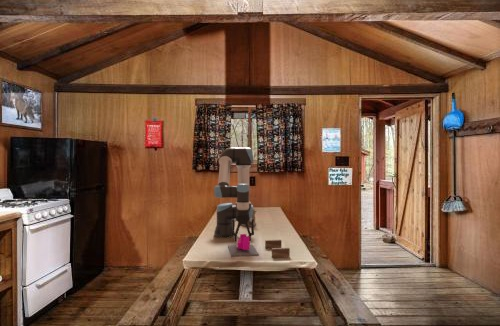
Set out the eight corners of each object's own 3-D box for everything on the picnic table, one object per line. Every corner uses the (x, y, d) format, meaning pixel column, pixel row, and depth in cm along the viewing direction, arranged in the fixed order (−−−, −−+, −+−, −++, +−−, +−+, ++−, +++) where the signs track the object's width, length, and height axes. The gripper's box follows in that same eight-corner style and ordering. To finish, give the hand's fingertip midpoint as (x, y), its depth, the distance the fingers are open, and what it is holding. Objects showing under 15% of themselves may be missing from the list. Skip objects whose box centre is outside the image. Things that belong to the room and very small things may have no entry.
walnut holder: (265, 247, 207) (265, 240, 207) (280, 247, 208) (280, 239, 208) (272, 257, 186) (272, 249, 186) (289, 257, 187) (289, 248, 187)
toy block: (236, 246, 207) (236, 234, 208) (246, 246, 208) (245, 234, 209) (239, 249, 192) (238, 236, 193) (249, 249, 193) (249, 236, 194)
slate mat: (228, 246, 210) (228, 245, 210) (252, 245, 212) (252, 244, 212) (231, 256, 188) (231, 255, 188) (258, 255, 190) (258, 254, 190)
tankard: (238, 223, 283) (238, 206, 283) (251, 222, 288) (251, 205, 288) (248, 228, 265) (248, 209, 265) (261, 227, 270) (262, 209, 270)
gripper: (227, 210, 194) (227, 248, 194) (259, 209, 197) (259, 247, 197) (226, 208, 202) (226, 245, 202) (257, 207, 205) (257, 244, 205)
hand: (242, 246), depth 200 cm, fingers closed on toy block, 6 cm apart
